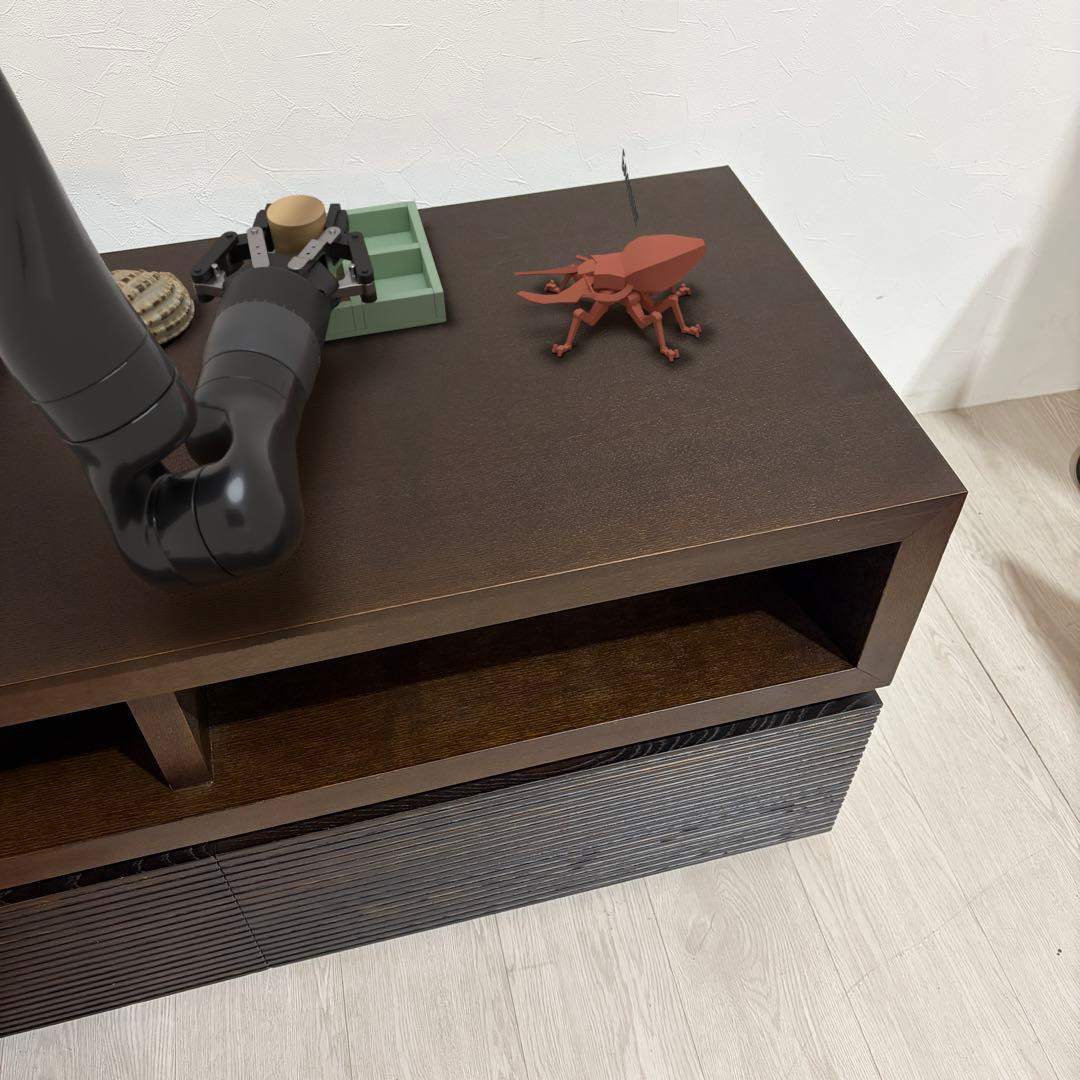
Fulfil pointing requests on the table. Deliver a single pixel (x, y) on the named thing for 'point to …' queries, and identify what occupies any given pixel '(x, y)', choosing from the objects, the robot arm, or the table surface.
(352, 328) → the grid
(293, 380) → the robot arm
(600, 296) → the beetle
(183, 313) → the seashell
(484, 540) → the table surface
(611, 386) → the table surface
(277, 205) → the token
